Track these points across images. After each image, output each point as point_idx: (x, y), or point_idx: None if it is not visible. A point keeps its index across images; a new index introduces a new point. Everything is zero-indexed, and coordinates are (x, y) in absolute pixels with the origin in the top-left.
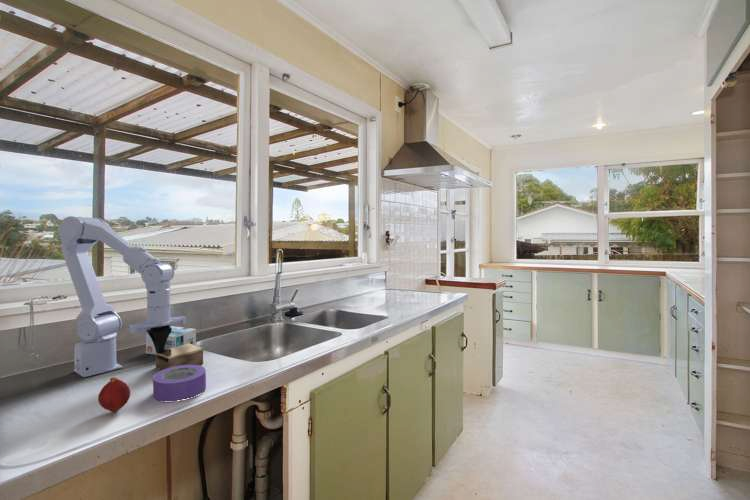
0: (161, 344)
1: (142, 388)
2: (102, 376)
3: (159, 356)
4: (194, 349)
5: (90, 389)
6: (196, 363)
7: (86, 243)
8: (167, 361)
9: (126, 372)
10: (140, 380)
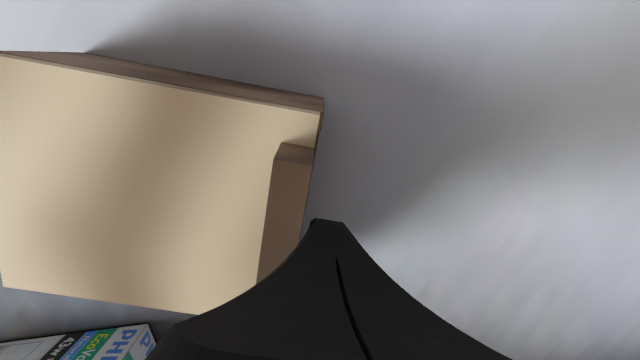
0: (342, 256)
1: (560, 26)
2: None
3: None
4: (45, 106)
5: (630, 260)
6: (124, 61)
7: None
8: None
9: None
10: (464, 157)
